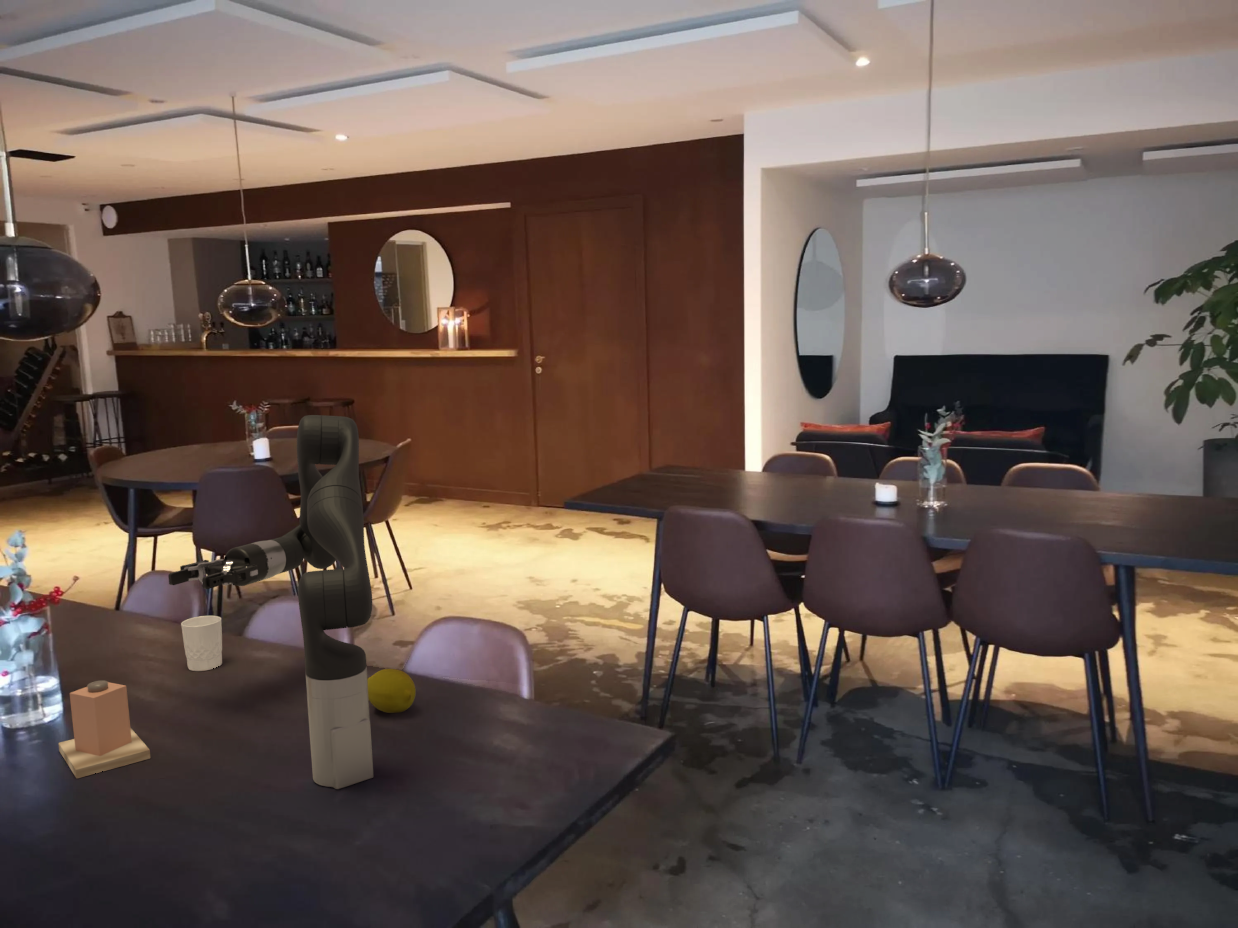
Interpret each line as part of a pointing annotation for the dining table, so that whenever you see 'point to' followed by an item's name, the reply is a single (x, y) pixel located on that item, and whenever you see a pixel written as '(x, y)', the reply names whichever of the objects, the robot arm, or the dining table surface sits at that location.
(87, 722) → the square capped bottle
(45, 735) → the dining table surface
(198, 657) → the white cup
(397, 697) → the lemon
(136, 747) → the shaft board
